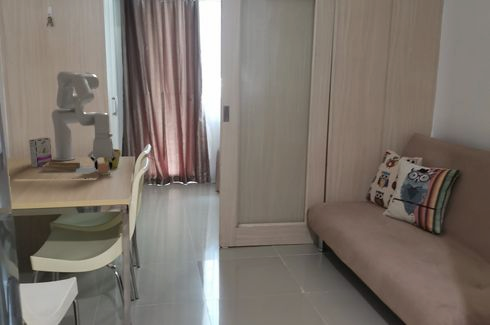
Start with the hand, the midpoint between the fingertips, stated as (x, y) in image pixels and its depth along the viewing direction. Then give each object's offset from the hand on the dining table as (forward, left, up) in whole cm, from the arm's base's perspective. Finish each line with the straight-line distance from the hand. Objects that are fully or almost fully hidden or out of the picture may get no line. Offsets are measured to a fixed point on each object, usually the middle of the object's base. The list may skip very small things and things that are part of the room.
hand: (103, 168), depth 236 cm
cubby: (-5, -23, -1) cm, 24 cm away
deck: (-6, -19, -2) cm, 20 cm away
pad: (0, 0, -2) cm, 2 cm away
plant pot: (-17, +2, -3) cm, 17 cm away
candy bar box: (-19, -37, -3) cm, 42 cm away
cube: (+1, 0, -2) cm, 2 cm away
